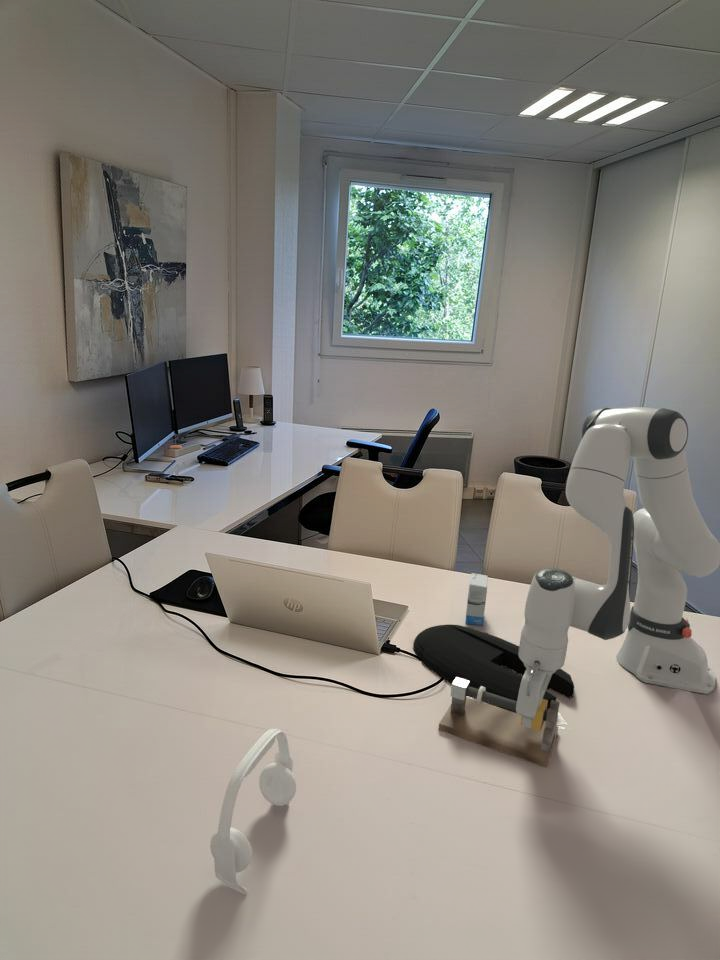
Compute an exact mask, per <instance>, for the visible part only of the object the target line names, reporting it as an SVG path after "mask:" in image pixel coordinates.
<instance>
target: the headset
mask: <svg viewBox="0 0 720 960" xmlns="http://www.w3.org/2000/svg"><path fill="white" fill-rule="evenodd" d="M276 740H277V747H278V752H277V753H276V754H275V756H274V760H273V762H272V763H269V764H267V765H266V766H264V767H263V769H261V772H260V775H259V777H258V778H259V780H258V787H259V790H260V793H261V795H262V796H263V798H264V800H265V801H267V802H269V803H270V804H271V805H273V806H278V807H280V806H281V807H283V806H287V807H289V805H290V803H291V802H292V800H293V799H294V797H295V795H296V792H297V791H296V790H297V782H296V778H295V776H294V774H293V766H294V763H293V762H294V761H293V758H292V756H291V753H290V750H289V747H290V746H289V742H288V739H287V735H286V734H285V733H284V732H283V731H282V730H281V729H279V728H270V729H268V730H266V731H265V733H263V734H262V735H261V736H260V737H259V739H257V741H256V742H255V744H253V745H252V746H251V748H250V749H249V750H248V751H247V753H246V754H245V756H244V757H242V759H241V761H240V762H239V763H238V765H237V767H236V769H235V771H234V772H233V774H232V775H231V777H230V780H229V782H228V784H227V787H226V790H225V794H224V797H223V801H222V804H221V810H220V815H219V822H218V827H217V830H215V831H214V833H213V834H212V836H211V839H210V844H209V846H210V847H209V848H210V854H211V855H212V858H213V862H214V874H215V877H216V878H217V879H218V880H219V881H220V882H221V883H223V884H224V885H226V886H228V887H229V888H231V889H232V890H234V891H237V892H238V893H240V894H243V895H245V896H246V895H248V889H247V888H246V887H245V886H244V885H242V884H240V883H239V880H238V879H237V873H242V872H244V871H245V870H247V868H248V867H249V865H250V864H251V862H252V858H253V857H252V856H253V851H252V846H251V844H250V842H249V839H248V838H247V837H246V836H245V834H243V833H242V831H240V830H239V829H237V828H235V827H231V826H232V819H233V813H234V808H235V805H236V800H237V796H238V793H239V790H240V789H241V785H242V783H243V781H244V778H247V777H248V776H249V775H250V774H251V773H252V771H253V770H254V769H255V768H256V767H257V765H258V764H259V762H261V760H262V759H263V757H264V756H265V755H266V754H267V753H268V751H269V750H270V749H271V748H272V747H273V745H274V743H275V741H276Z"/></svg>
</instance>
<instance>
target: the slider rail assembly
mask: <svg viewBox="0 0 720 960" xmlns="http://www.w3.org/2000/svg"><path fill="white" fill-rule="evenodd" d="M476 701H477V699H475V698H472V697H469V696H467V697H466V704H465V710H464V712H463V714H462V716H460V715H457V714H454V713H451V712H450V711H451V704H450V705H449V707H448V709H447V710H446V712H445V713H444V715H443V716H442V719H440V721H439V722H438V723H439V724H438V731H441V732H444V733H447V734H449V735H452V736H455V737H458V738H461V739H465V741H469V742H473V743H476V744H478V745H481V746H484V747H486V748H490V749H492V750H495V751H498V752H501V753H504V754H507V755H510V756H512V757H514V758H518V759H521V760H524V761H527V762H529V763H532V764H535V765H538V766H540V767H544V768H547V766H548V764H549V763H548V762H549V760H550V756H551V753H552V750H553V749H554V748H553V747H554V744H555V741H556V739H557V735H558V731H559V726H558V725H557V723H558V717H559V716H558V715H559V709H560V703H561V702H560V701H558V700H556V701H554V700H551V703H550V708H548V711H547V717H546V721H544V723H543V726H542V728H541V731H539V730H536V729H533V728H528V727H525V726H523V725H521V724H520V723H521V717H522V716H521V715H519V714H517V713H514V712H511V711H508V710H505V709H502V708H499V707H497V706H495V705H493V704H490V703H487V702H484V701H483V702H482V704H481V705H480V704H477V702H476ZM556 714H557V719H556ZM555 719H556V723H555Z"/></svg>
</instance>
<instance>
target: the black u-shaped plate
mask: <svg viewBox="0 0 720 960" xmlns="http://www.w3.org/2000/svg"><path fill="white" fill-rule="evenodd" d="M413 651H414V653H415V654H416V655H417V656H418V658H419V659H421V663H422V664H423V665H424V666H425V667H426V668H427V669H429V670H430V671H432V672H433V673H435V674H436V675H438V676H439V677H441V678H442V679H444V680H445V681H446V682H449V683H451V684H452V683H453V681H454V680H455V678H456V677H458V678H462V679H465V680H468V681H470V685H469V686H470V687H473V688H476V689H479V688H480V687H481V686H483V687H485V692H489V693H492V694H495V695H498V696H501V697H504V698H508V699H511V700H514V701H517V699H518V694H519V689H520V684H521V681H522V678H523V675H524V673H525V671H526V669H527V668H526V667H525V666H524V663H523V662H522V661H521V659H520V658H519V656H518V651H519V645H517V644H515V643H513V642H510V641H507V640H505V639H503V638H501V637H498V636H496V635H492V634H489V633H487V632H485V631H481V630H477V629H475V628H472V627H468V626H463V625H460V624H439V625H434V626H429V627H427V628H425V629H423V630H422V631H420V632H419V633H418V634H417V636H415V639H414V640H413ZM547 689H550V690H551V691H554V692H556V693H558V694H560V695H561V696H564V697H566V698H568V699H571V698H573V697H574V691H575V684H574V682H573V678H572V676H571V674H569V673H568V672H567V671H565V670H563V669H562V668H560V669H558V670H556V672H555V673H553V674H552V676H551V679H550V681H549V684H548V686H547ZM542 699H545V700H548V703H547V709H546V711H548V708H550V703H551V700H554V701H557V696H555V695H554V694H552V693H550V692H549V691H548V690H546V691H545V694H544V696H543V698H542ZM494 706H496V705H494ZM496 707H499V708H502V709H505V710H508V711H511V712H514V713H516V712H515V711H512V710H509V709H506V708H503V707H500V706H496Z"/></svg>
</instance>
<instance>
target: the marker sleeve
mask: <svg viewBox="0 0 720 960" xmlns="http://www.w3.org/2000/svg"><path fill="white" fill-rule="evenodd" d="M547 703H548V700H545V699H542V701H541V703H540V706H539V708H538V711H537V713H536V716H535V718H534V719H533V722H532V725H531V727H530V728H533V729H536V730H539V731H541V728H542V726H543V723H544V722H545V721H543V715H544V711H545V710H546V709H547ZM522 719H523V717H521V723H520V724H521V725H522Z"/></svg>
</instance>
